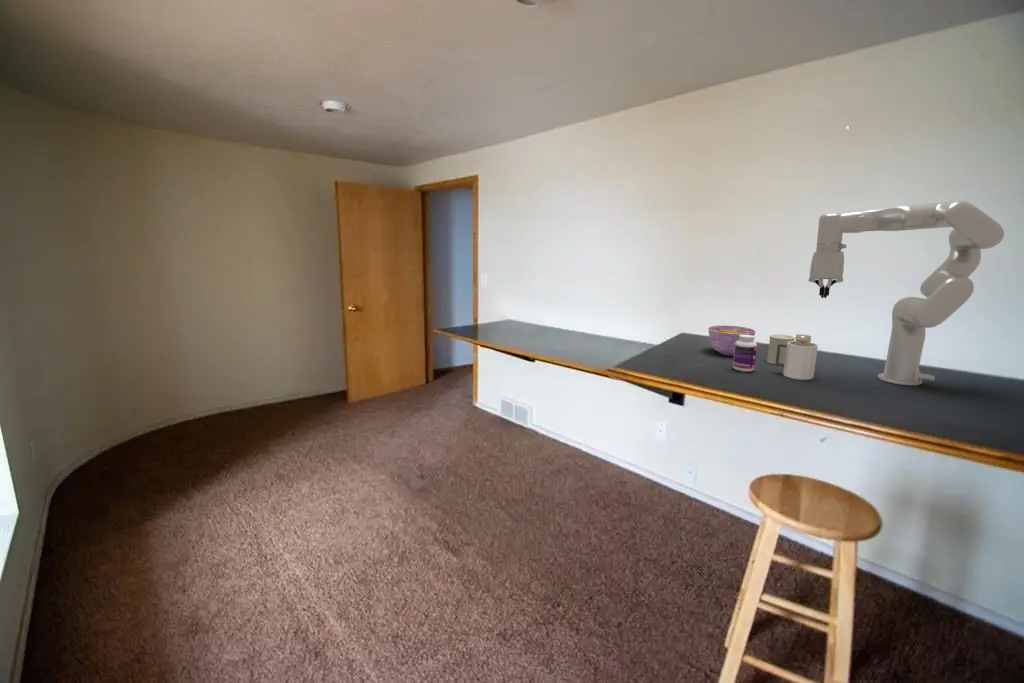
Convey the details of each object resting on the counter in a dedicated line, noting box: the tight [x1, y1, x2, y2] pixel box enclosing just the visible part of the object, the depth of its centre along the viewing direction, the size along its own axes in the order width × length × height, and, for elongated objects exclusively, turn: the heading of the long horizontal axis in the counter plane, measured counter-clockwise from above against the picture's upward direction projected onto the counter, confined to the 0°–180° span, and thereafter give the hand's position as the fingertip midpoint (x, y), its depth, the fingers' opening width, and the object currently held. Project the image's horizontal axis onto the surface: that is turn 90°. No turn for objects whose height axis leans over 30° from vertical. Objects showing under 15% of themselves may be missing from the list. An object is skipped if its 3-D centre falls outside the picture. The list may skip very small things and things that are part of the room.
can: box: [766, 334, 795, 365], centre depth 194 cm, size 9×9×12 cm
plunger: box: [794, 334, 812, 346], centre depth 174 cm, size 7×7×14 cm
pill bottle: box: [732, 335, 758, 373], centre depth 183 cm, size 8×8×14 cm
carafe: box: [774, 340, 819, 381], centre depth 175 cm, size 13×10×13 cm
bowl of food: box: [707, 325, 757, 357], centre depth 209 cm, size 20×20×12 cm
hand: (823, 297), depth 168 cm, fingers closed
